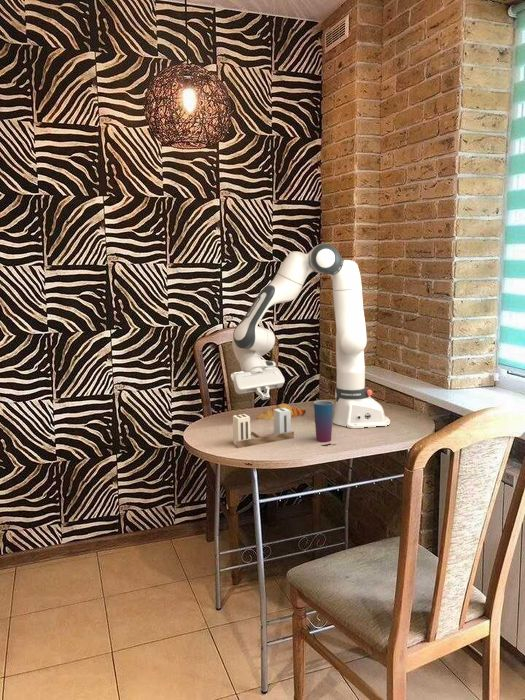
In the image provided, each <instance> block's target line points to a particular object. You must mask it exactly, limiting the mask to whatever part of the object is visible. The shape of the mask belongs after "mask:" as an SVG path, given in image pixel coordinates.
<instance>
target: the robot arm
mask: <svg viewBox="0 0 525 700" xmlns="http://www.w3.org/2000/svg"><path fill="white" fill-rule="evenodd" d="M313 272H314V273H317V274H325V275H326V274H327V275H328V276H330V278H331V282H332V283H331V284H332V294H333V297H332V298H333V310H334V317H335V318H334V319H335V326H336V334H335V360H336V362H335V363H336V386H335V390H334V391H335V392H334V394H335V395H334V396H335V397H334V399H335V409H334V412H333V418H332V424H335V425H338V426H342V427H346V426H347V427H346V428H348V429H364V427H368V428H377V427H376V426H385V427H388V426H387V425H389V424H391V420H390V418H389V417H388V416H386V415H385V410H384V407H383V406H382V405H381V403H379V402H378V401H376V400H375V399H373V398H372V397H371V396H372V395H373V391H372V389H370V388H369V387H367V386H366V363H365V349H366V348H367V347H366V346H367V344H368V337H367V327H366V319H365V311H364V301H363V300H364V299H363V288H362V287H363V286H362V277H361V272H360V269H359V266H358V263H357V262H355V261H354V260H351V259H343V257H342V254H340V252H339V251H338V250H337V248H336V247H335V246H333V245H331V244H329V243H320V244H318V245H315V246H314V247H313V248H312V249H311V250H310V251H308V252H307V253H304V252H301V251H295V250H293V251H290V252H289V253H288V254H287V256H286V257H285V258H284V260H283V262H282V263H281V265H280V267H279V269H278V271H277V273H276V274H275V276H274V278H273V279H272V281H271V282H270V283H269V284H268V285H266V286H264V287H263V288H262V289H261V291H260V292H259V293H258V295H257V296H256V298H255V300H254V301H253V303H252V304H251V305H250V308H249V309H248V310H247V312H246V314H245V315H244V317H243V318H242V319H241V320H240V321H239V323H238V324H237V325H236V326H235V328H234V330H233V333H232V337H233V339H232V342H231V346H232V350H233V354H234V356H235V358H236V361H238V363H239V368H240V371H233V372H232V373H231V374H230V379H231V381H232V382H233V383H232V384H233V388H234V391H235V393H236V394H237V395H243V394H248V393H254V392H255V394H256V395H258V396H259V397H260V399H261V400H262V401H265V400H269V399H270V398H271V396H270V390H272V389H280V388H282V387H283V386H284V384H285V381H286V380H285V377H284V375H283V374H282V372H281V370H280V369H279V368H278V367H277V363H276V362H275V361H273V360H266V359H262V358H261V357H263V356H265V355H266V354H268V353H270V352H271V351H272V350H273V349H274V347H275V345H276V335H275V332H274V331H273V330H271V329H268V328H266V327H262V326H260V325H259V324H260V322H261V321H262V319H263V317H264V316H265V314H266V312H267V311H268V310H269V308H271V307H272V306H274V305H277V304H281V303H288V302H291V301H293V300H295V299H296V298H297V296H298V295H299V294H300V292H301V290H302V288H303V286H304V284H305V282H306V279H308V276H309V275H310V274H312V273H313ZM258 325H259V326H258ZM262 391H264V392H265V393H264V392H262ZM389 426H390V425H389Z"/></svg>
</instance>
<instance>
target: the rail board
mask: <svg viewBox="0 0 525 700" xmlns="http://www.w3.org/2000/svg"><path fill="white" fill-rule="evenodd" d="M250 435H252V436H253V437H255V438H251V439H248V440H242V441H237V445H236V449H242V448H247V447H253V446H257V445H258V446H259V445H263V444H269V443H274V442H280V441H286V440H292V439H295V431H291V432H288V433H282V434H276V435H274V434H272V435H265V436H260V435H259V434H257V433H256V432H254V431H250Z"/></svg>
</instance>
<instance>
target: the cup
mask: <svg viewBox="0 0 525 700" xmlns="http://www.w3.org/2000/svg"><path fill="white" fill-rule="evenodd" d="M313 411H314V423H315V424H314V425H315V427H314V428H315V440H316V442H319V443H325V444H322V445H321V444H320V445H319V446H321V447H328V445H329V446H330V444H331V445H332V443H330V442H331V441H332V432H333V417H334V401H331V400H327V399H318V400H316V401H314V402H313Z"/></svg>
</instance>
